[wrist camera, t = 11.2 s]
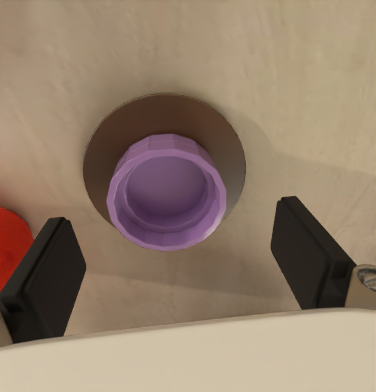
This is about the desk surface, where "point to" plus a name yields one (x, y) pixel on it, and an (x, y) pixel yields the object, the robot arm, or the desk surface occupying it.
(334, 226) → the desk surface
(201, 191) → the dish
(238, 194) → the coaster
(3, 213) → the apple
